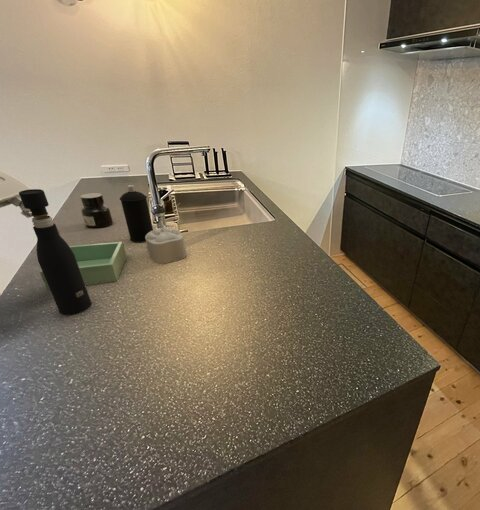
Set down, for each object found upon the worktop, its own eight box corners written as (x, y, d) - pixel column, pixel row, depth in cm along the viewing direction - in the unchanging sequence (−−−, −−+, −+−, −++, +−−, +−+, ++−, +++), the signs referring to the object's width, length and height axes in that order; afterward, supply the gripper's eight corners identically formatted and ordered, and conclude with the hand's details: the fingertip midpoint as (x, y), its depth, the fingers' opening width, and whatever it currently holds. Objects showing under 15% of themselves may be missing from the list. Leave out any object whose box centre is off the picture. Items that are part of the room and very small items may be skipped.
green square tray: (47, 289, 83) (39, 272, 80) (66, 262, 96) (60, 246, 93) (117, 281, 89) (112, 264, 87) (126, 256, 102) (122, 241, 100)
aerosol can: (153, 241, 113) (142, 188, 104) (127, 243, 110) (113, 189, 101) (156, 233, 120) (146, 182, 111) (132, 234, 117) (119, 183, 108)
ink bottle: (84, 222, 124) (75, 193, 118) (110, 218, 129) (102, 191, 124) (87, 230, 117) (78, 200, 112) (115, 226, 123) (107, 197, 118)
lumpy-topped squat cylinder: (156, 265, 98) (150, 241, 95) (144, 251, 107) (139, 227, 103) (189, 257, 105) (185, 233, 101) (176, 243, 113) (172, 222, 109)
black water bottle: (64, 301, 79) (19, 187, 66) (94, 298, 81) (56, 187, 68) (54, 317, 74) (2, 196, 60) (87, 312, 76) (43, 195, 63)
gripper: (-16, 174, 71) (45, 215, 77) (-128, 200, 53) (-39, 251, 59) (-3, 155, 70) (58, 199, 75) (-115, 175, 52) (-24, 230, 57)
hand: (15, 222), depth 67 cm, fingers open, 8 cm apart
